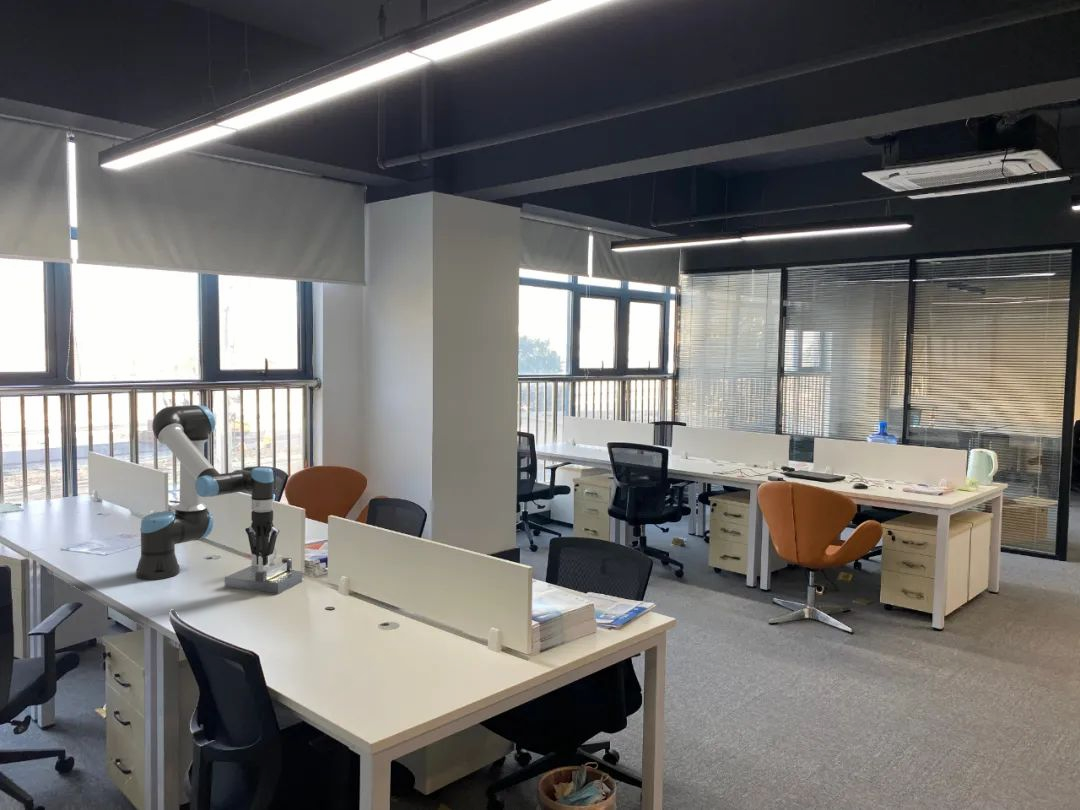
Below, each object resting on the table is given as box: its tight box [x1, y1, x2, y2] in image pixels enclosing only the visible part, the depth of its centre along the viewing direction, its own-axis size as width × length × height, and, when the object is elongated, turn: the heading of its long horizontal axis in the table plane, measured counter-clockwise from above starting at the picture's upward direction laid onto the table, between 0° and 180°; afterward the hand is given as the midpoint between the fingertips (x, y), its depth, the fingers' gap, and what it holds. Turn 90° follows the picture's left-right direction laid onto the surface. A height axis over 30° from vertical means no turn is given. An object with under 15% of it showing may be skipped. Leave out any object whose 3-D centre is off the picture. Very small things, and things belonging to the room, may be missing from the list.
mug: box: [250, 546, 278, 568], centre depth 305 cm, size 10×7×12 cm, turn 133°
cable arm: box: [255, 557, 293, 582], centre depth 286 cm, size 19×4×4 cm, turn 166°
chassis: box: [224, 565, 303, 595], centre depth 288 cm, size 22×16×4 cm
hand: (262, 573), depth 284 cm, fingers closed
